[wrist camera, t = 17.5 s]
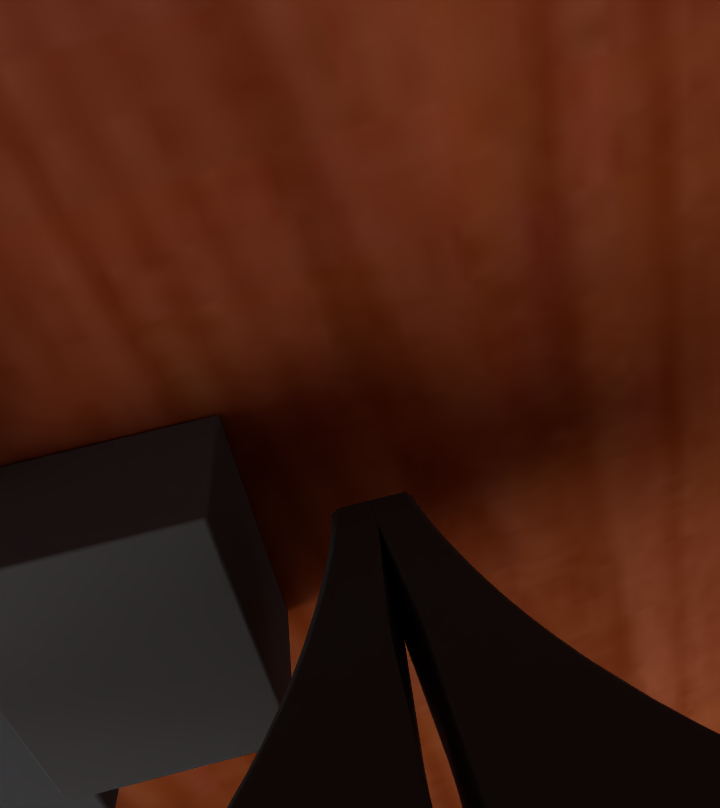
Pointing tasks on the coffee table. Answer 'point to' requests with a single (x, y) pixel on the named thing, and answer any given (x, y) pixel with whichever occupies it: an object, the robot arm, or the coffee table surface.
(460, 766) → the robot arm
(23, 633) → the dark grey rectangular block
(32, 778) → the base pad
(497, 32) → the coffee table surface
